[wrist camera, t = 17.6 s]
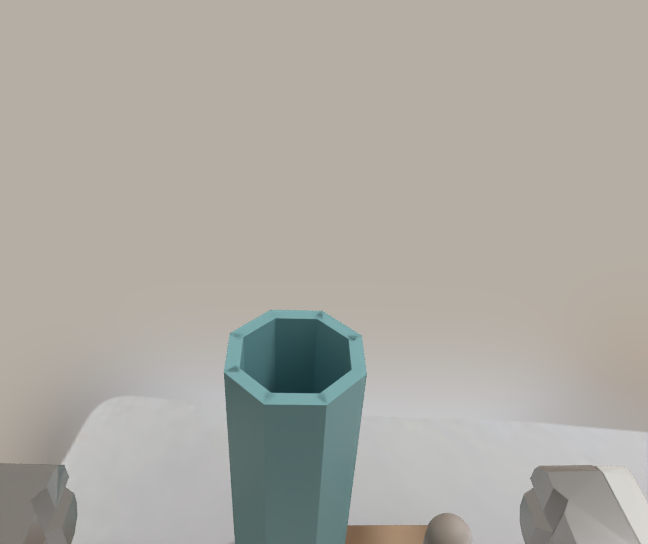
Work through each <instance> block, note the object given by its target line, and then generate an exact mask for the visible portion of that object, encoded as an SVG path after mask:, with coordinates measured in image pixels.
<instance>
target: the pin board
mask: <svg viewBox="0 0 648 544" xmlns="http://www.w3.org/2000/svg"><path fill="white" fill-rule="evenodd" d="M345 544H472V534H471V531H470V528H469V527H468V525H467V523H466V522H465V521H464V520H463V519H462V518H460V517H459V516H457V515H454V514H450V513H443V514H440V515H437V516H436V517H434V518H433V519H432V520H431V521H430V523H429V524H428V525H366V526H347V532H346V540H345Z"/></svg>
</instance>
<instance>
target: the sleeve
mask: <svg viewBox="0 0 648 544" xmlns="http://www.w3.org/2000/svg"><path fill="white" fill-rule="evenodd" d="M366 375H367V373H366V365H365V357H364V350H363V342H362V336H361V335H360V334H358V333H357V332H355V331H354V330H352V329H350V328H349V327H347V326H346V325H344V324H342V323H341V322H339V321H337V320H336V319H334V318H333V317H331V316H330V315H328V314H326V313H325V312H323V311H298V310H297V311H296V310H270V311H268V312H266V313H264V314H263V315H261V316H259V317H257V318H256V319H254V320H252V321H250V322H249V323H247V324H245V325H243V326H242V327H240V328H238V329H237V330H235V331H233V332H231V333H230V337H229V343H228V350H227V356H226V363H225V369H224V379H225V396H226V411H227V427H228V442H229V458H230V473H231V489H232V504H233V520H234V535H235V544H345V540H346V532H347V524H348V517H349V509H350V501H351V493H352V485H353V477H354V470H355V462H356V454H357V446H358V438H359V430H360V423H361V415H362V407H363V399H364V391H365V383H366Z"/></svg>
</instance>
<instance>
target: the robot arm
mask: <svg viewBox="0 0 648 544" xmlns="http://www.w3.org/2000/svg"><path fill="white" fill-rule="evenodd" d="M68 478H69V476H68V473H67V471H66V468H65V466H64V465H47V464H5V463H4V464H3V463H0V544H71V542H72V539H73V536H74V533H75V526H76V520H77V502H76V499H75V495H74V493H73V492H71V491H70V490H69V489H67V488H66V487H65V486H66V483H67V481H68ZM530 479H531V482H532V484H533V487H534V488H532V489H531V490H529V491H528V492H526V493H525V494H524V496H523V499H522V502H521V505H520V525H521V530H522V535H523V538H524V541H525V544H648V503H647V501H646V499H645V497H644V496H643V494H642V492H641V490H640V489H639V487H638V485H637V483H636V481H635V480H634V478H633V476H632V474H631V473H630V471H628V470H627V469H626V468H625V467H623V466H592V465H572V466H539V467H537V468H536V469H534V471H533V474H532V476H531V478H530Z"/></svg>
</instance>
